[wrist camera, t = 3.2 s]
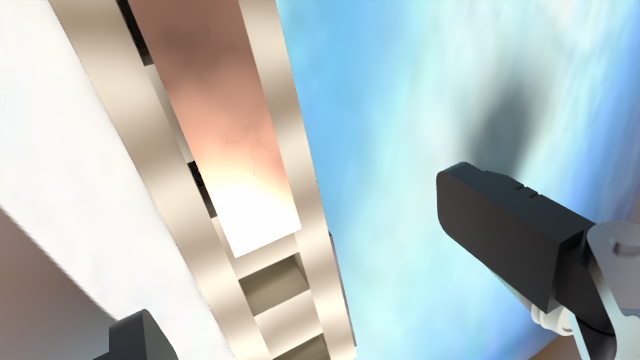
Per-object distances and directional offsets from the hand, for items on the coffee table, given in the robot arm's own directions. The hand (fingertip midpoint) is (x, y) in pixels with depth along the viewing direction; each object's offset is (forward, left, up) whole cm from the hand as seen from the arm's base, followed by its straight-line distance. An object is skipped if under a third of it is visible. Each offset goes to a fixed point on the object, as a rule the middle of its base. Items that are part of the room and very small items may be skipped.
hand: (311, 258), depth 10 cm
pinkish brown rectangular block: (0, 0, -17) cm, 17 cm away
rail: (+8, 0, -17) cm, 18 cm away
